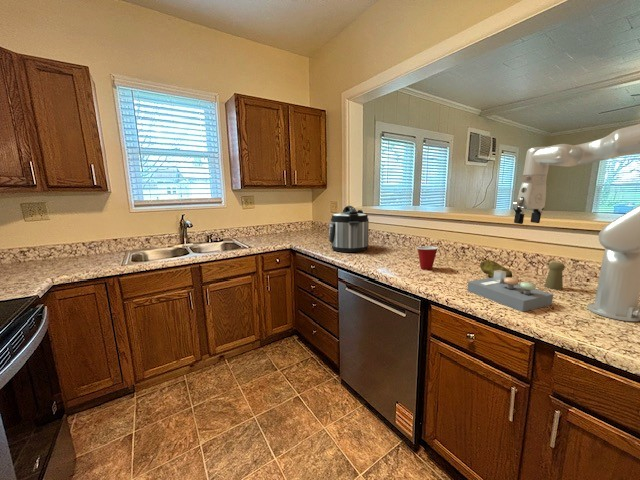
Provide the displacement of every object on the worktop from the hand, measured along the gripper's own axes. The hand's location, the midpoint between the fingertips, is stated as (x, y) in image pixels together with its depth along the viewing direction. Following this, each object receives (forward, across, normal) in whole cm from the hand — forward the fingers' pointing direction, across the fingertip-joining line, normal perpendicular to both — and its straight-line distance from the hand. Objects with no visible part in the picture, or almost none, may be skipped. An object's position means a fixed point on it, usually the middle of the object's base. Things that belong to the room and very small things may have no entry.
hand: (526, 223), depth 110 cm
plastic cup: (+30, -15, +38) cm, 50 cm away
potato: (+29, +5, +13) cm, 32 cm away
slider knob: (+24, -10, 0) cm, 26 cm away
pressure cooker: (+32, -32, +98) cm, 108 cm away
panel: (+28, -14, -6) cm, 32 cm away
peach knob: (+25, -14, -7) cm, 29 cm away
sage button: (+25, -13, -13) cm, 31 cm away
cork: (+28, +15, -5) cm, 32 cm away
